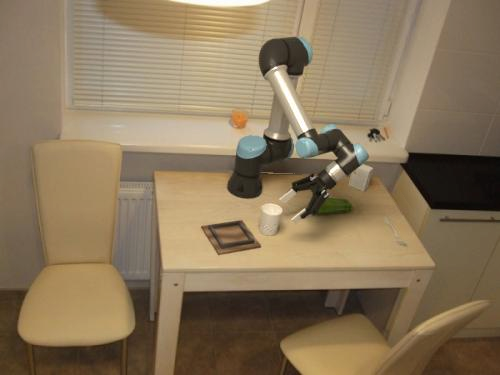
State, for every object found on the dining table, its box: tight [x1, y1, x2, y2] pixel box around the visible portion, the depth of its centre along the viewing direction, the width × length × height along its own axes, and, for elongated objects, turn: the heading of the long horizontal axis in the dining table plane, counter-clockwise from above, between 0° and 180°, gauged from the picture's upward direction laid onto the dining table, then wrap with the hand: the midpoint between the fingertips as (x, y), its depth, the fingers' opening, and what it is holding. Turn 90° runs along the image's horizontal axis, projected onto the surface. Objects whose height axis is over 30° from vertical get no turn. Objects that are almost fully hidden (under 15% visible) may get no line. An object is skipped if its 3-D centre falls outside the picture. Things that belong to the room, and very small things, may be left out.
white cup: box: [258, 203, 283, 237], centre depth 207 cm, size 8×8×10 cm
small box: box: [347, 163, 374, 193], centre depth 248 cm, size 8×6×10 cm
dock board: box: [200, 219, 262, 256], centre depth 201 cm, size 17×17×2 cm
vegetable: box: [316, 196, 355, 216], centre depth 226 cm, size 7×7×20 cm
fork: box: [383, 216, 408, 246], centre depth 223 cm, size 3×24×2 cm, turn 9°
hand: (287, 211), depth 205 cm, fingers open, 13 cm apart
